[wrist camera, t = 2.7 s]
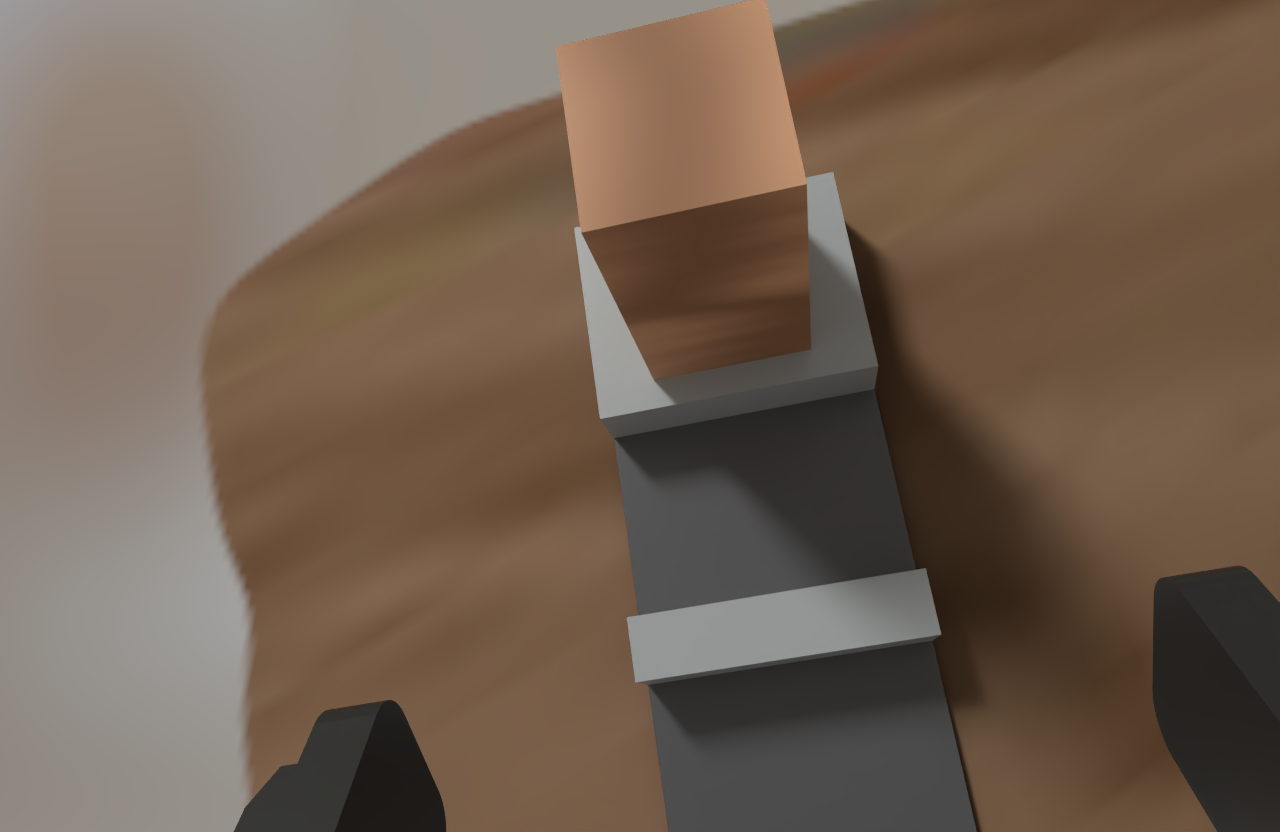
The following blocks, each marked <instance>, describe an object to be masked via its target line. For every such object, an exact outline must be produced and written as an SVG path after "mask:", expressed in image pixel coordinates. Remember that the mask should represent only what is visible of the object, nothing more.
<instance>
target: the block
mask: <svg viewBox="0 0 1280 832" xmlns="http://www.w3.org/2000/svg"><path fill="white" fill-rule="evenodd" d="M556 52H557V59H558V67H559V74H560V81H561V89H562V96H563V103H564V111H565V118H566V125H567V133H568V140H569V147H570V155H571V162H572V169H573V176H574V184H575V191H576V198H577V206H578V213H579V220H580V228H581V233H582V235H583V237H584V239H585V241H586V243H587V246H588V248H589V250H590V252H591V254H592V256H593V258H594V260H595V262H596V264H597V266H598V268H599V270H600V272H601V274H602V276H603V278H604V280H605V282H606V284H607V286H608V288H609V290H610V292H611V294H612V296H613V298H614V300H615V302H616V304H617V306H618V308H619V311H620V313H621V315H622V317H623V319H624V321H625V323H626V325H627V327H628V329H629V331H630V333H631V335H632V337H633V339H634V341H635V343H636V345H637V347H638V349H639V351H640V353H641V355H642V357H643V359H644V361H645V363H646V365H647V367H648V369H649V371H650V374H651V376H652V378H653V380H657V379H662V378H668V377H673V376H678V375H683V374H688V373H693V372H698V371H704V370H709V369H714V368H719V367H724V366H729V365H734V364H739V363H745V362H750V361H755V360H760V359H765V358H770V357H775V356H781V355H786V354H791V353H796V352H801V351H806V350H811V325H810V285H809V245H808V205H807V182H806V177H805V173H804V168H803V164H802V160H801V155H800V151H799V146H798V142H797V137H796V133H795V128H794V124H793V119H792V115H791V110H790V106H789V101H788V97H787V92H786V88H785V84H784V79H783V75H782V70H781V66H780V61H779V57H778V52H777V48H776V43H775V39H774V34H773V30H772V25H771V21H770V16H769V12H768V7H767V3H766V0H749V1H745V2H741V3H736V4H732V5H728V6H724V7H720V8H715V9H712V10H708V11H703V12H699V13H695V14H691V15H687V16H683V17H678V18H674V19H670V20H666V21H661V22H657V23H653V24H649V25H645V26H641V27H637V28H632V29H628V30H624V31H620V32H616V33H611V34H607V35H603V36H599V37H595V38H591V39H587V40H582V41H579V42H574V43H570V44H566V45H562V46H557V47H556Z"/></svg>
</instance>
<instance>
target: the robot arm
mask: <svg viewBox="0 0 1280 832" xmlns="http://www.w3.org/2000/svg"><path fill="white" fill-rule="evenodd" d="M1153 700H1154V706H1155V712H1156V716H1157V720H1158V723H1159V726H1160V729H1161V732H1162V735H1163V738H1164V740H1165V743H1166V745H1167V747H1168V749H1169V751H1170V753H1171V755H1172V757H1173V759H1174V760H1175V762H1176V764H1177V765H1178V767H1179V769H1180V770H1181V772H1182V774H1183V775H1184V777H1185V779H1186V780H1187V782H1188V784H1189V785H1190V787H1191V789H1192V790H1193V792H1194V794H1195V795H1196V797H1197V799H1198V800H1199V802H1200V804H1201V805H1202V807H1203V809H1204V810H1205V812H1206V814H1207V815H1208V817H1209V818H1210V820H1211V822H1212V823H1213V825H1214V827H1215V828H1216V830H1217V832H1280V603H1279V602H1278V601H1277V599H1276V598H1275V597H1274V596H1273V595H1272V594H1271V593H1270V592H1269V590H1268V589H1267V588H1266V587H1265V586H1264V585H1263V584H1262V583H1261V581H1260V580H1259V579H1258V578H1257V577H1256V576H1255V575H1254V574H1253V573H1252V572H1251V571H1250V570H1248V569H1247V568H1245V567H1243V566H1232V567H1226V568H1220V569H1214V570H1208V571H1201V572H1195V573H1189V574H1183V575H1177V576H1170V577H1164V578H1161V579H1159V580H1158V581H1157V583H1156V585H1155V590H1154V621H1153ZM234 832H446V819H445V812H444V807H443V802H442V799H441V796H440V793H439V791H438V789H437V786H436V784H435V782H434V780H433V777H432V775H431V773H430V771H429V768H428V766H427V764H426V762H425V759H424V757H423V755H422V753H421V750H420V748H419V746H418V744H417V742H416V739H415V737H414V735H413V733H412V730H411V728H410V726H409V724H408V721H407V719H406V717H405V715H404V713H403V711H402V709H401V708H400V706H399V705H398V704H397V703H396V702H394V701H392V700H386V701H380V702H374V703H368V704H362V705H356V706H349V707H343V708H337V709H331V710H327V711H324V712H323V713H322V714H321V715H320V716H319V717H318V719H317V720H316V722H315V724H314V727H313V729H312V731H311V734H310V736H309V738H308V741H307V743H306V745H305V748H304V750H303V752H302V754H301V757H300V759H299V761H298V764H292V765H286V766H281V767H280V768H279V769H278V770H277V771H276V773H275V774H274V775H273V776H272V777H271V778H270V780H269V781H268V782H267V783H266V784H265V785H264V786H263V788H262V789H261V790H260V791H259V792H258V793H257V795H256V796H255V797H254V798H253V799H252V800H251V801H250V803H249V804H248V805H247V806H246V807H245V809H244V811H243V813H242V815H241V817H240V820H239V822H238V824H237V826H236V829H235V831H234Z"/></svg>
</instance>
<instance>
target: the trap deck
mask: <svg viewBox="0 0 1280 832" xmlns="http://www.w3.org/2000/svg"><path fill="white" fill-rule="evenodd" d="M806 182H807V205H808V245H809V285H810V325H811V350H806V351H801V352H796V353H791V354H786V355H781V356H775V357H770V358H765V359H760V360H755V361H750V362H745V363H739V364H734V365H729V366H724V367H719V368H714V369H709V370H704V371H698V372H693V373H688V374H683V375H678V376H673V377H668V378H662V379H657V380H653V378H652V376H651V374H650V371H649V369H648V367H647V365H646V363H645V361H644V359H643V357H642V355H641V353H640V351H639V349H638V347H637V345H636V343H635V341H634V339H633V337H632V335H631V333H630V331H629V329H628V327H627V325H626V323H625V321H624V319H623V317H622V315H621V313H620V311H619V308H618V306H617V304H616V302H615V300H614V298H613V296H612V294H611V292H610V290H609V288H608V286H607V284H606V282H605V280H604V278H603V276H602V274H601V272H600V270H599V268H598V266H597V264H596V262H595V260H594V258H593V256H592V254H591V252H590V250H589V248H588V246H587V243H586V241H585V239H584V237H583V235H582V233H581V228H580V227H577V228H574V229H575V236H576V244H577V251H578V258H579V266H580V273H581V281H582V288H583V296H584V303H585V311H586V318H587V325H588V333H589V340H590V348H591V355H592V363H593V370H594V377H595V385H596V392H597V400H598V407H599V415H600V420H601V421H602V422H603V424H604V425H605V426H606V428H607V429H608V430H609V432H610V433H611V434H612V436H613V437H614V440H615V448H616V455H617V462H618V469H619V476H620V484H621V491H622V498H623V505H624V513H625V520H626V527H627V534H628V541H629V549H630V556H631V563H632V570H633V578H634V585H635V592H636V599H637V606H638V614H639V616H633V617H627V623H628V630H629V638H630V645H631V652H632V660H633V667H634V675H635V682H636V683H641V684H646V685H648V686H649V693H650V700H651V707H652V715H653V722H654V729H655V736H656V744H657V751H658V758H659V765H660V772H661V780H662V787H663V794H664V801H665V809H666V816H667V823H668V830H669V832H977V830H976V826H975V822H974V817H973V813H972V809H971V805H970V800H969V796H968V792H967V787H966V783H965V779H964V774H963V770H962V766H961V761H960V757H959V753H958V748H957V744H956V740H955V735H954V731H953V727H952V722H951V718H950V714H949V709H948V705H947V701H946V696H945V692H944V688H943V683H942V679H941V675H940V670H939V666H938V662H937V657H936V653H935V649H934V644H933V640H934V639H936V638H937V637H939V636H940V635H941V631H940V627H939V623H938V618H937V614H936V610H935V605H934V601H933V597H932V593H931V588H930V584H929V580H928V576H927V571H926V568H924V569H918V570H916V567H915V562H914V558H913V554H912V549H911V545H910V541H909V536H908V532H907V528H906V523H905V519H904V515H903V510H902V506H901V502H900V497H899V493H898V489H897V484H896V480H895V476H894V471H893V467H892V463H891V458H890V454H889V450H888V445H887V441H886V437H885V432H884V428H883V424H882V419H881V415H880V411H879V406H878V402H877V398H876V393H875V383H876V377H877V371H878V362H877V358H876V354H875V349H874V345H873V341H872V337H871V332H870V328H869V324H868V320H867V315H866V311H865V307H864V302H863V298H862V294H861V290H860V285H859V281H858V277H857V273H856V268H855V264H854V260H853V256H852V251H851V247H850V243H849V238H848V234H847V230H846V226H845V221H844V217H843V213H842V209H841V204H840V200H839V196H838V192H837V187H836V183H835V179H834V174H833V172H831V173H826V174H821V175H817V176H812V177H808V178H806Z"/></svg>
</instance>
